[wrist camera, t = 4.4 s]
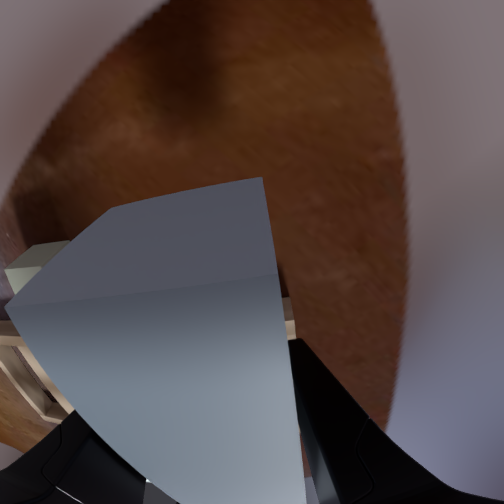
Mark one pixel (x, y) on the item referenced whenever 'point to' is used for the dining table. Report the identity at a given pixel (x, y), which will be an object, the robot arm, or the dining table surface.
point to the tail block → (31, 263)
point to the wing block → (176, 343)
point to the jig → (4, 356)
